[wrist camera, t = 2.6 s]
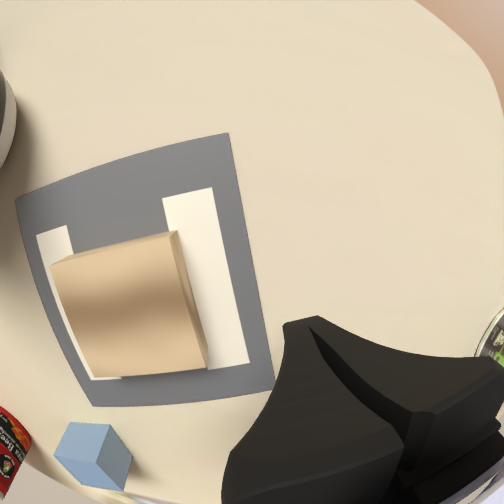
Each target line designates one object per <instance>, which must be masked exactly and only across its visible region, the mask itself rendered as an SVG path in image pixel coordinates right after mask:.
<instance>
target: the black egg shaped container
mask: <svg viewBox="0 0 504 504" xmlns="http://www.w3.org/2000/svg"><path fill="white" fill-rule="evenodd" d="M15 127H16V102H15V97H14V93H13V91H12V88H11V86H10V84H9V83H8V81H7V80H6V79H5V77H4V76H3V73H2V71H1V70H0V168H1V167H2V165H3V163H4V161H5V159H6V157H7V155H8V152H9V150H10V147H11V144H12V141H13V137H14V132H15Z"/></svg>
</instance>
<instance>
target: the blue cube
mask: <svg viewBox="0 0 504 504" xmlns="http://www.w3.org/2000/svg"><path fill="white" fill-rule="evenodd" d="M54 456H55V457H56V459H57V460H58V461H59V462H60V463H61V464H62V465H63V466H64V467H65V468H66V469H67V470H68V471H69V472H70V473H71V474H72V476H73V477H74V478H76V479H77V480H78V481H79V482H80V483H81V484H82V485H86V486H91V487H96V488H102V489H108V490H115V491H122V492H123V491H124V487H125V483H126V479H127V475H128V471H129V467H130V463H131V459H132V454H131V453H130V452H129V450H128V449H127V448H126V446H125V445H124V444H123V442H122V441H121V439H120V438H119V437H118V435H117V434H116V432H115V431H114V430H113V428H112V427H111V425H110V424H91V423H78V422H70V424H69V425H68V427H67V429H66V431H65V433H64V435H63V437H62V439H61V441H60V443H59V445H58V447H57V449H56V451H55V453H54Z"/></svg>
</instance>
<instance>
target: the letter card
mask: <svg viewBox="0 0 504 504" xmlns="http://www.w3.org/2000/svg"><path fill="white" fill-rule="evenodd" d="M15 203H16V209H17V215H18V220H19V225H20V229H21V234H22V238H23V242H24V246H25V250H26V254H27V257H28V261H29V265H30V268H31V271H32V274H33V278H34V281H35V284H36V287H37V290H38V293H39V296H40V298H41V301H42V304H43V306H44V309H45V312H46V314H47V317H48V319H49V322H50V324H51V327H52V329H53V331H54V333H55V336H56V338H57V340H58V342H59V345H60V347H61V349H62V351H63V353H64V355H65V357H66V359H67V361H68V363H69V365H70V367H71V369H72V371H73V373H74V375H75V376H76V378H77V380H78V382H79V384H80V386H81V387H82V389H83V391H84V392H85V394H86V396H87V398H88V399H89V401H90V402H91V404H92V406H96V407H128V406H153V405H168V404H180V403H190V402H199V401H207V400H215V399H222V398H229V397H235V396H241V395H247V394H252V393H258V392H263V391H268V390H273V388H274V386H275V378H274V372H273V367H272V362H271V357H270V351H269V346H268V341H267V336H266V330H265V325H264V320H263V315H262V309H261V304H260V299H259V294H258V288H257V283H256V278H255V272H254V267H253V262H252V257H251V251H250V246H249V241H248V235H247V230H246V225H245V220H244V214H243V209H242V204H241V198H240V193H239V188H238V182H237V177H236V172H235V166H234V161H233V156H232V150H231V145H230V140H229V134H228V133H223V134H218V135H213V136H208V137H203V138H198V139H193V140H189V141H185V142H180V143H176V144H172V145H168V146H164V147H160V148H156V149H153V150H149V151H145V152H142V153H138V154H135V155H131V156H128V157H125V158H122V159H118V160H115V161H112V162H109V163H106V164H103V165H100V166H97V167H94V168H91V169H88V170H86V171H83V172H80V173H77V174H75V175H72V176H69V177H67V178H64V179H62V180H59V181H57V182H54V183H52V184H49V185H47V186H45V187H42V188H40V189H38V190H35V191H33V192H31V193H29V194H27V195H24V196H22V197H20V198H18V199H16V200H15ZM173 230H177V231H178V235H179V240H180V244H181V248H182V253H183V257H184V261H185V265H186V269H187V273H188V277H189V281H190V284H191V288H192V292H193V296H194V299H195V303H196V307H197V310H198V314H199V317H200V321H201V324H202V328H203V331H204V335H205V338H206V341H207V345H208V351H207V362H206V368H199V369H192V370H184V371H176V372H167V373H158V374H147V375H135V376H120V377H100V378H95V377H94V376H93V374H92V372H91V370H90V368H89V366H88V364H87V362H86V360H85V358H84V356H83V353H82V351H81V349H80V347H79V345H78V343H77V340H76V338H75V336H74V334H73V331H72V329H71V326H70V324H69V322H68V319H67V317H66V314H65V311H64V309H63V306H62V303H61V301H60V298H59V295H58V292H57V289H56V286H55V283H54V280H53V277H52V274H51V271H50V267H49V266H50V265H52V264H53V263H55V262H57V261H59V260H61V259H63V258H65V257H67V256H69V255H73V254H77V253H81V252H84V251H88V250H92V249H96V248H100V247H104V246H108V245H113V244H117V243H121V242H125V241H129V240H134V239H138V238H142V237H146V236H151V235H155V234H160V233H164V232H169V231H173Z"/></svg>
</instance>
